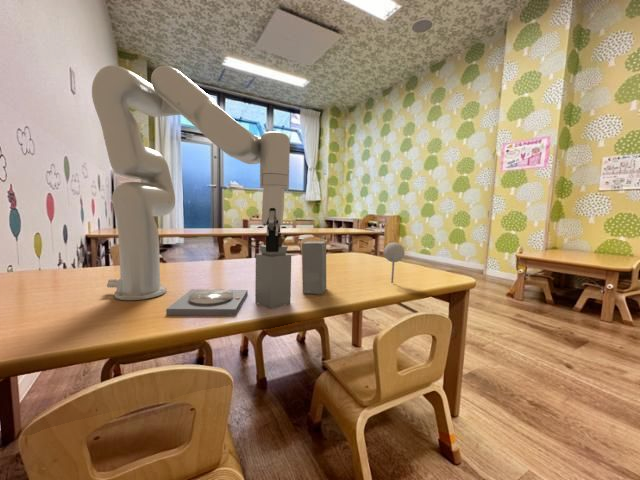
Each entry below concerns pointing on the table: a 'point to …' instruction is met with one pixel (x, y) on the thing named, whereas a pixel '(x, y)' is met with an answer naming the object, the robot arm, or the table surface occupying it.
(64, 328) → the table surface
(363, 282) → the table surface
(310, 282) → the skincare box
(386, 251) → the lollipop
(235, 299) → the mount base
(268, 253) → the perfume bottle
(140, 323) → the table surface
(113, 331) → the table surface
